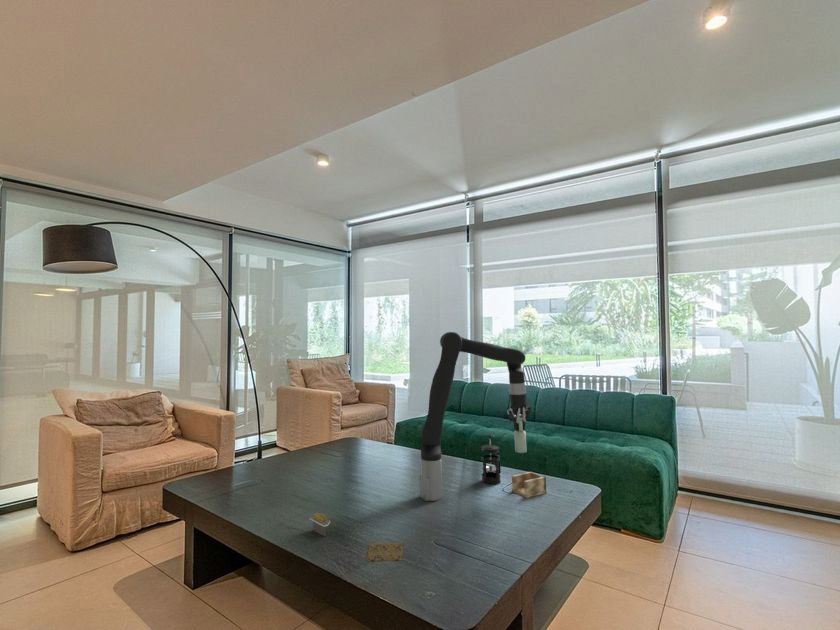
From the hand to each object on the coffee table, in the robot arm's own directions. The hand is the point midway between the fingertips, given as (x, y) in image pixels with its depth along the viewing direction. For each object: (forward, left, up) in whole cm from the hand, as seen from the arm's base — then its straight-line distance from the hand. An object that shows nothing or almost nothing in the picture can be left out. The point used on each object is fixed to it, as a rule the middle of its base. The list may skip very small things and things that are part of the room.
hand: (519, 430), depth 195 cm
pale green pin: (0, 0, -10) cm, 10 cm away
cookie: (-76, -18, -29) cm, 83 cm away
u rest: (+4, -1, -28) cm, 29 cm away
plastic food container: (-91, +7, -29) cm, 96 cm away
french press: (-2, +19, -29) cm, 35 cm away
